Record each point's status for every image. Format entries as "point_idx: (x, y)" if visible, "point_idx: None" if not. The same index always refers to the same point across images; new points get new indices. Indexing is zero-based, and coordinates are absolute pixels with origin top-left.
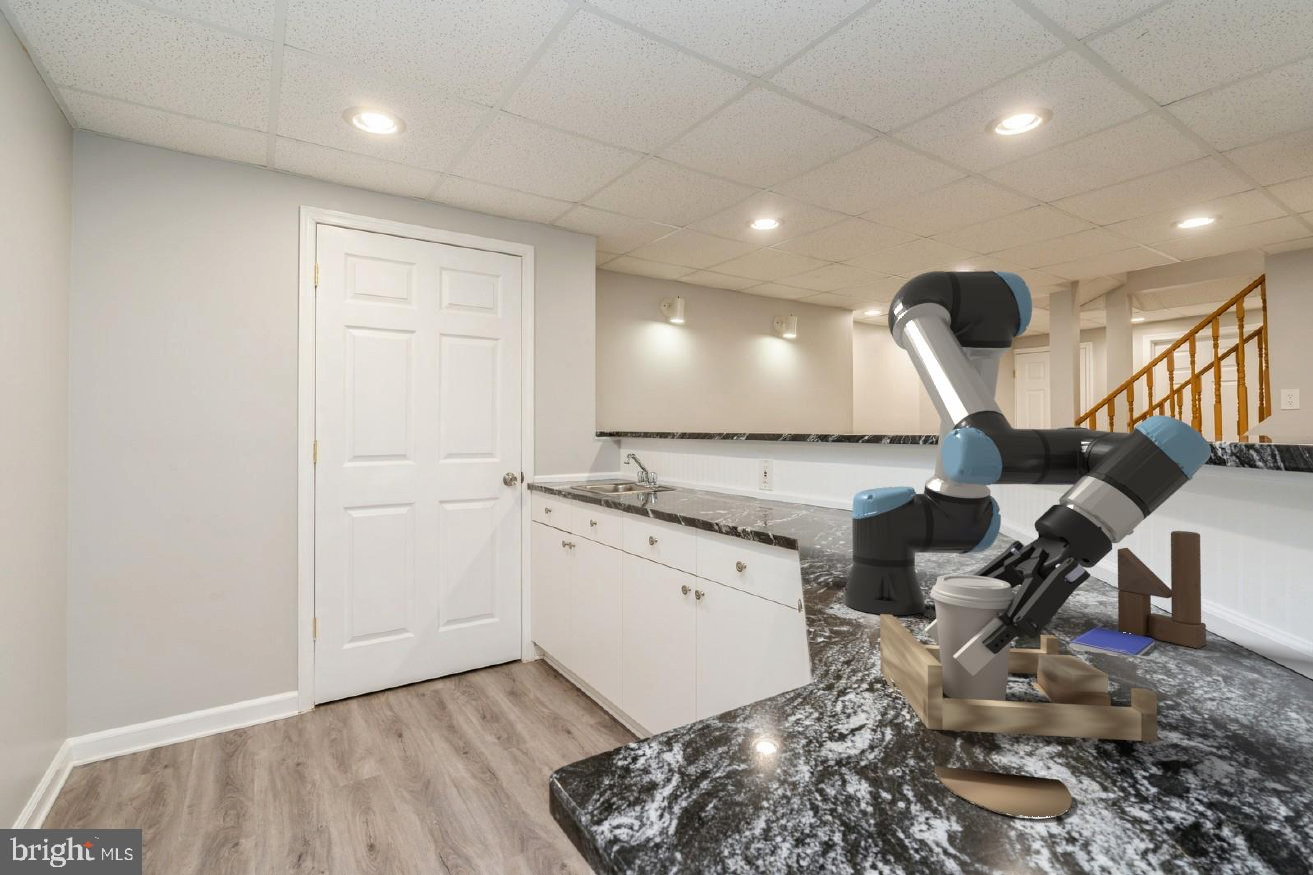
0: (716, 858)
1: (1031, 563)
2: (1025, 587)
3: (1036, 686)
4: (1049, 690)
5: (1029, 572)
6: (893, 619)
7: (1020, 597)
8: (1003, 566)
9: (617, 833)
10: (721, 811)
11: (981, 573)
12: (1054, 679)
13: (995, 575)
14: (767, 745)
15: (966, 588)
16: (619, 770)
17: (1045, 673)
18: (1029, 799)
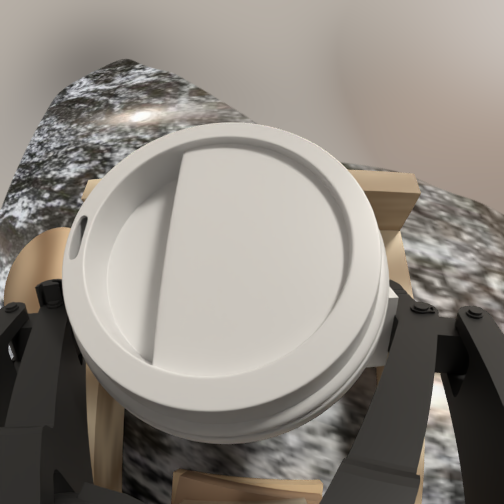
0: (45, 117)
1: (18, 500)
2: (23, 386)
3: (301, 485)
4: (243, 486)
5: (2, 431)
6: (380, 185)
7: (27, 351)
8: (408, 469)
9: (76, 84)
10: (75, 110)
11: (489, 371)
12: (244, 501)
13: (375, 411)
14: (143, 116)
15: (107, 178)
16: (128, 67)
17: (278, 500)
18: (18, 291)
